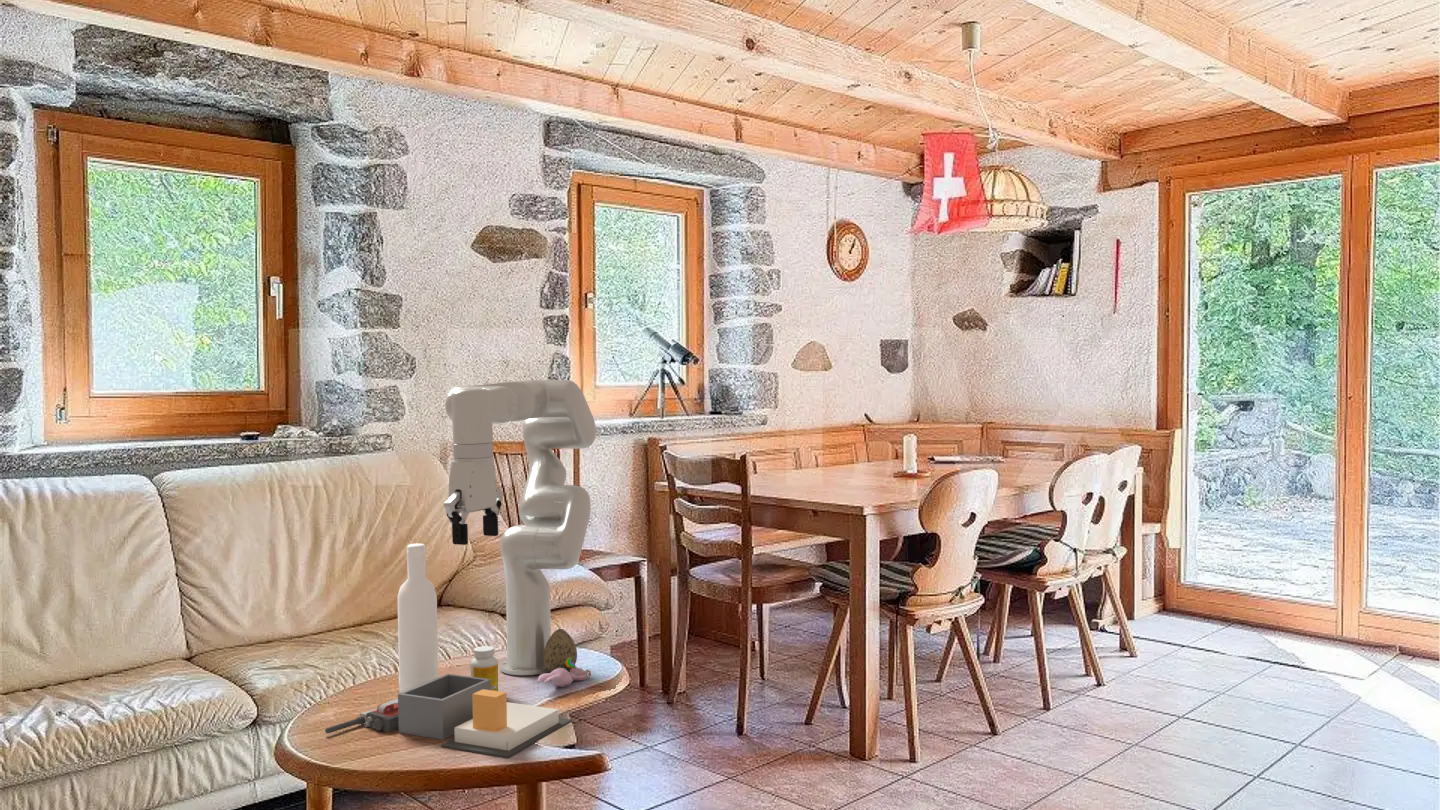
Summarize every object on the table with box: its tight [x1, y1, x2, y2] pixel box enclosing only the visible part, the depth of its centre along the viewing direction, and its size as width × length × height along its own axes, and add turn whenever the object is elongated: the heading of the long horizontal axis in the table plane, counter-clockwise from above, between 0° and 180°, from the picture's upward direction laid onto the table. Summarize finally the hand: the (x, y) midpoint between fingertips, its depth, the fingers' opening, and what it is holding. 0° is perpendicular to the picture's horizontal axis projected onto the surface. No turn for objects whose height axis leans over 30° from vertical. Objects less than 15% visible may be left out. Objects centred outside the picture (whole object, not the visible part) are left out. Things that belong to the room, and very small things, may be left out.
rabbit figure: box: [537, 657, 593, 688], centre depth 217 cm, size 6×6×15 cm
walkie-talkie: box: [324, 698, 399, 734], centre depth 194 cm, size 9×4×20 cm
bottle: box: [397, 543, 440, 694], centre depth 215 cm, size 8×8×30 cm
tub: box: [397, 673, 491, 741], centre depth 194 cm, size 14×10×7 cm
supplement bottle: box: [470, 645, 499, 691], centre depth 211 cm, size 5×5×10 cm
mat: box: [440, 717, 573, 759], centre depth 188 cm, size 20×14×1 cm
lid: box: [454, 689, 560, 751], centre depth 188 cm, size 15×11×8 cm
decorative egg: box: [543, 628, 578, 673], centre depth 224 cm, size 7×7×10 cm
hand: (475, 539), depth 204 cm, fingers open, 9 cm apart
